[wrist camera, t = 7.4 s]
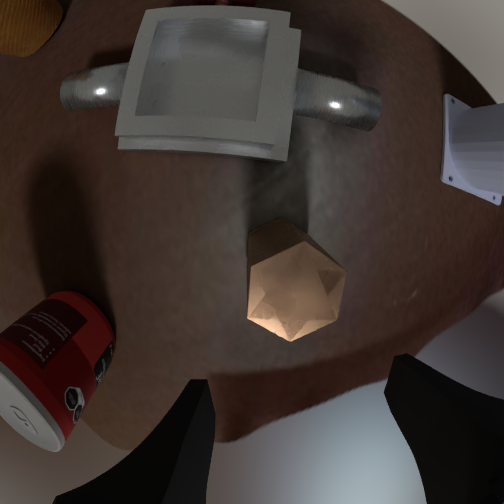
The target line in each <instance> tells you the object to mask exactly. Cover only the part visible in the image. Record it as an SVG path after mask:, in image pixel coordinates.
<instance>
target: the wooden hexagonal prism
mask: <svg viewBox="0 0 504 504" xmlns="http://www.w3.org/2000/svg"><path fill="white" fill-rule="evenodd" d="M346 272H347V271H346V270H345V269H344V268H343V267H342V266H341V265H340V264H338V263H337V262H336V261H335V260H334V259H333V258H332V257H331V256H330V255H329V254H328V253H327V252H326V251H325V250H324V249H323V248H322V247H321V246H320V245H319V244H317V243H316V242H315V241H314V240H313V239H312V238H311V237H310V236H309V235H307V234H306V233H304V232H303V231H302V230H300V229H299V228H297V227H296V226H294V225H293V224H292V223H290V222H289V221H287V220H286V219H284V218H283V217H279V218H277V219H275V220H273V221H271V222H269V223H267V224H265V225H262V226H260V227H258V228H256V229H254V230H252V231H250V232H249V237H248V252H247V318H248V319H250V320H252V321H254V322H255V323H257V324H259V325H261V326H263V327H264V328H266V329H268V330H270V331H272V332H274V333H275V334H277V335H279V336H281V337H283V338H285V339H286V340H288V341H292V340H295V339H297V338H299V337H301V336H304V335H306V334H308V333H310V332H312V331H315V330H317V329H319V328H321V327H323V326H325V325H327V324H329V323H331V322H334V321H336V320H337V317H338V312H339V308H340V303H341V298H342V293H343V288H344V283H345V277H346Z"/></svg>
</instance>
